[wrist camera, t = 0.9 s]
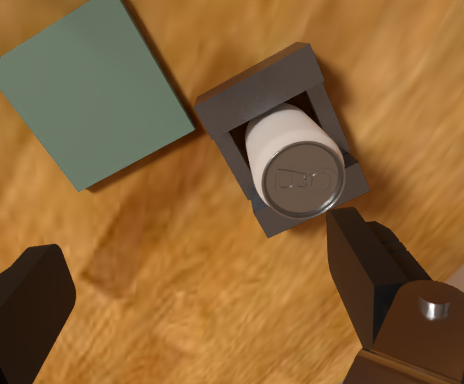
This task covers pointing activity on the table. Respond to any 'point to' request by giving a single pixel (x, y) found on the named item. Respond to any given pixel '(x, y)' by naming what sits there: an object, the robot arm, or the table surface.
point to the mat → (93, 92)
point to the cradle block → (263, 99)
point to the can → (294, 163)
